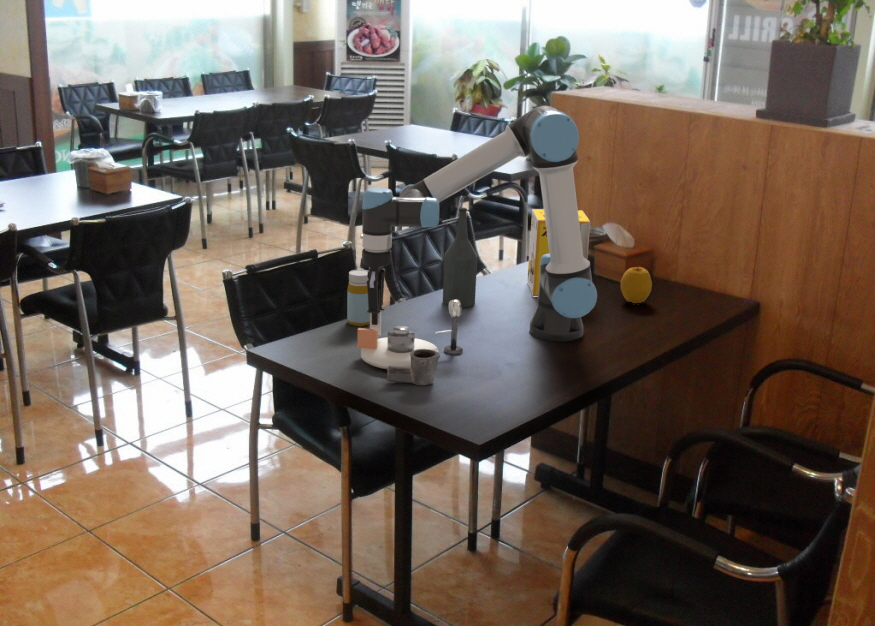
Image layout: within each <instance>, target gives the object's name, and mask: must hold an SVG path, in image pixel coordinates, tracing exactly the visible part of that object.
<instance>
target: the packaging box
mask: <svg viewBox="0 0 875 626" xmlns="http://www.w3.org/2000/svg"><path fill="white" fill-rule="evenodd" d="M578 216H579V224H580V233H581V241H582V250H583V257H584V258H586V259H587V260H588V255H589V254H588V253H589V243H590V232H591V221H590V219H589V218H588V216H587V215H586V214H585V212H584V210H580V209H579V210H578ZM530 221H531V223H530V224H531V225H530V235H529V236H530V238H529V239H530V240H529V251H528V252H529V253H528V266H527V267H528V268H527V281H528V283H527V285H528V284H529V286H528V288H529V287H530V289H529V291H530V290H531V291H530V294H531V293H532V294H531V297H532V296H538V291H539V276H540V263H541V257H542V256H543V255H544V254H549V253H550V252H549V244H548V237H547V229H546V221H545V214H544V208H531V220H530ZM527 281H526V282H527Z"/></svg>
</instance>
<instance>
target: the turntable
mask: <svg viewBox="0 0 875 626" xmlns="http://www.w3.org/2000/svg"><path fill="white" fill-rule="evenodd" d="M387 341H388V336H387V337H381V338H379V336H378V329H370V328H365V327H363V328H362V327H358V328H357V349H360V357H361V360H362V361H363V362H365V363H366V364H368V365H370V366H373V367H376V368H380V369H385V370H387V369H388V366H395V367H411V357H410V353H411V352H412V351H411V352H408V353H395V352H391V351H389V350H388V349H387ZM417 349H430V350H434V351H437V352H439V349H438V347H437V345H435V344H434V343H433V342H430V341H427V340H424V339H421V338H416V337H415V342H414V350H417ZM414 350H413V351H414Z"/></svg>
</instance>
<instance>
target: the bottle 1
mask: <svg viewBox="0 0 875 626" xmlns="http://www.w3.org/2000/svg"><path fill="white" fill-rule="evenodd" d="M368 271H369V270H366V269H352V270H350V271H349V272H348V280H349V281H348V285H347V292H346V293H347V296H346V297H347V298H346V299H347V300H346V301H347V303H346V306H347V307H346V308H347V310H346V311H347V315H346V319H347V323H348V324H349V325H350V326H353V327H367V326H370V313H367V310H368V288H367V280H368V277H367V275H368Z"/></svg>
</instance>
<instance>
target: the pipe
mask: <svg viewBox="0 0 875 626" xmlns="http://www.w3.org/2000/svg"><path fill="white" fill-rule="evenodd" d="M410 357H411V367H395V366H388V369H386V370H387V371H386V382H390V383H398V384H399V383H401V384H403V383H404V384H415V385H417V386H428V385H431V384H433V382H434V380H435V373H436V367H437V363H438V361H439V359H440V358H441V353H440V352H439V351H438V352H437V351H434V350H430V349H417V350H414V351H412V352H411V353H410Z"/></svg>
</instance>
